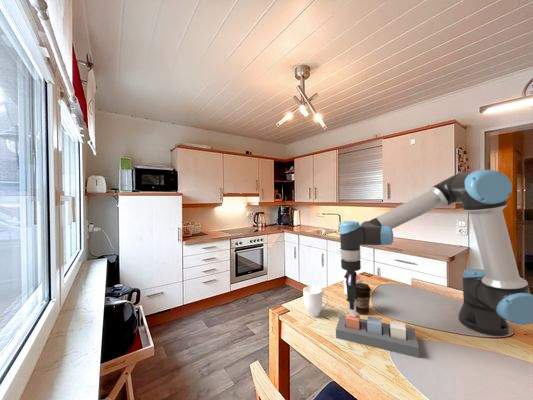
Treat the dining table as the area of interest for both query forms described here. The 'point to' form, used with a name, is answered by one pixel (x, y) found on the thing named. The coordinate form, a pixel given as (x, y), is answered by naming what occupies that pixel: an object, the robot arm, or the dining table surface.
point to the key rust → (353, 321)
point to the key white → (397, 330)
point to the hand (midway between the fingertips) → (352, 315)
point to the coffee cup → (362, 298)
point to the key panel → (379, 338)
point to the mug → (313, 300)
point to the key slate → (374, 325)
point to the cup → (358, 280)
